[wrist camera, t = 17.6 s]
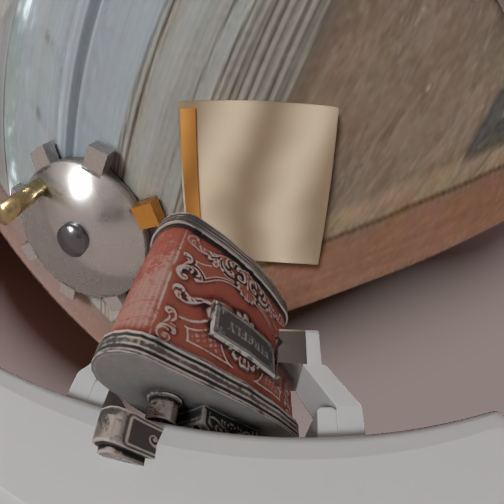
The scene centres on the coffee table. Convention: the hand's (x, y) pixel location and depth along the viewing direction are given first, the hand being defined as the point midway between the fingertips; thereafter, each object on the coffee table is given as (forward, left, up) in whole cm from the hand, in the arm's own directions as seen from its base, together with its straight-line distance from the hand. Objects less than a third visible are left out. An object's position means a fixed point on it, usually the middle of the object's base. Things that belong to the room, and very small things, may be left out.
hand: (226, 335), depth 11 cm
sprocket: (+18, +5, -16) cm, 25 cm away
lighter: (+1, 0, -4) cm, 4 cm away
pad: (0, 0, -16) cm, 16 cm away
